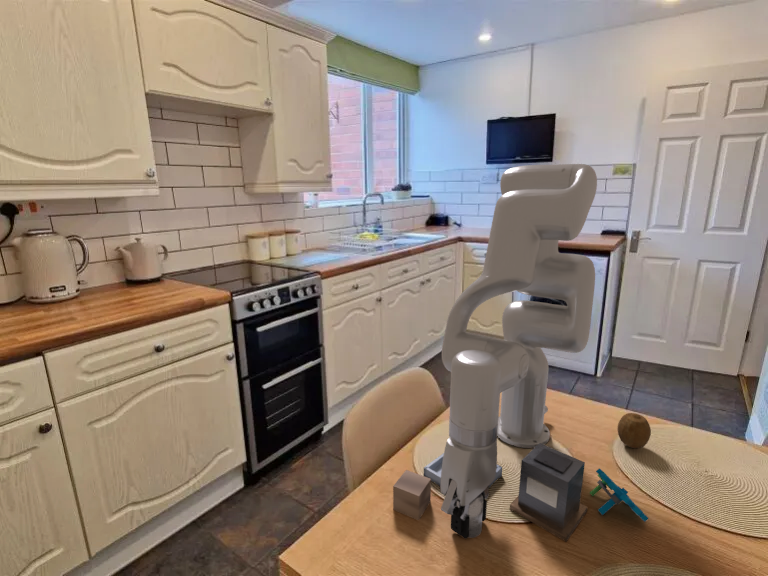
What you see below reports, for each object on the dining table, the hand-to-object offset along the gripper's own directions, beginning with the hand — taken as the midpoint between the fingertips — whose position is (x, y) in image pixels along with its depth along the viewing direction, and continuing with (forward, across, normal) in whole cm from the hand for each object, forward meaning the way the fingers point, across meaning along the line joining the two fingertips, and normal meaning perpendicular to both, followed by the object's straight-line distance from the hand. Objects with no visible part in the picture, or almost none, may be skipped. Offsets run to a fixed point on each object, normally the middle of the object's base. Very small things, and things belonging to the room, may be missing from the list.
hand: (468, 523), depth 70 cm
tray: (+1, -10, -8) cm, 13 cm away
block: (+1, +3, -10) cm, 10 cm away
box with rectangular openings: (+1, -13, +8) cm, 15 cm away
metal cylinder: (+1, 0, 0) cm, 1 cm away
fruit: (+1, -44, +13) cm, 46 cm away
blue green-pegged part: (+1, -22, +17) cm, 27 cm away
